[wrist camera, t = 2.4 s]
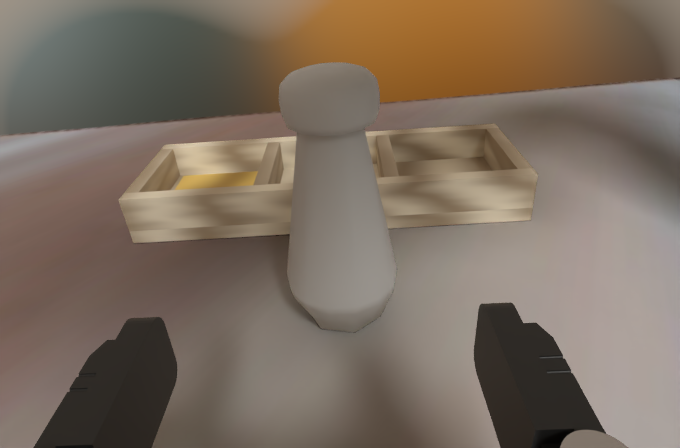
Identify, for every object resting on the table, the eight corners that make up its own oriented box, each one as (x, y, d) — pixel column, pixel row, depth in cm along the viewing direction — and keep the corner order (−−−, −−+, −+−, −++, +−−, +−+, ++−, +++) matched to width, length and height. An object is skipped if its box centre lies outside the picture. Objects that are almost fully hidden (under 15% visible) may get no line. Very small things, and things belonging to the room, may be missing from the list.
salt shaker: (273, 327, 25) (227, 82, 19) (322, 267, 30) (299, 51, 23) (374, 358, 23) (363, 91, 16) (411, 288, 27) (415, 55, 21)
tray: (489, 160, 42) (493, 122, 40) (530, 220, 33) (538, 174, 31) (176, 179, 43) (166, 143, 41) (133, 243, 34) (118, 199, 32)
